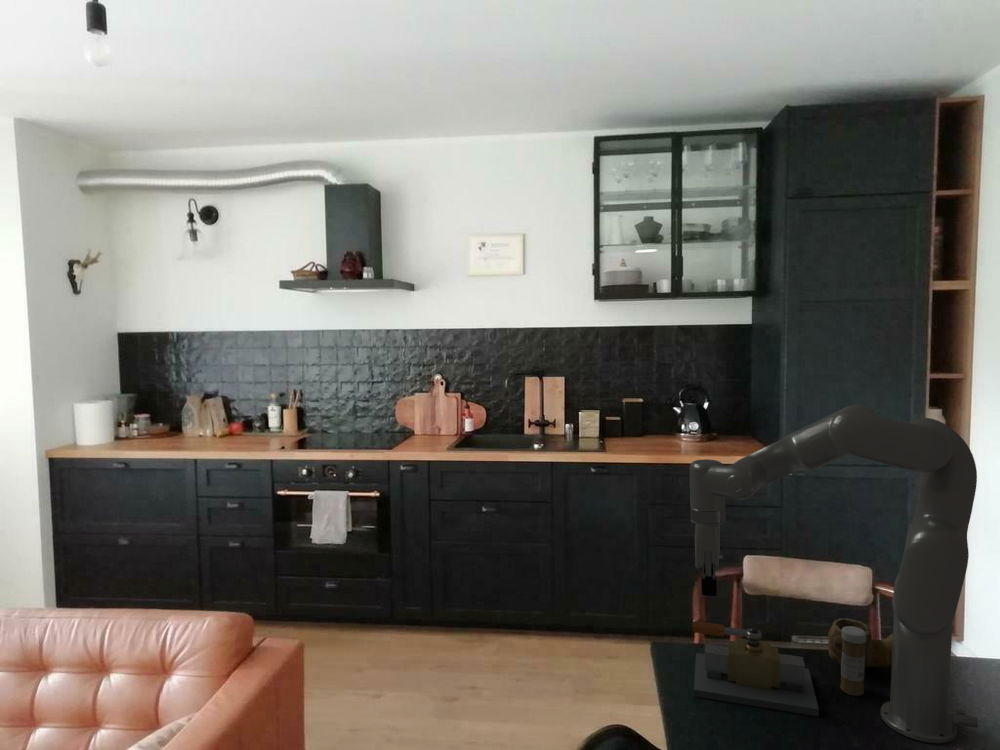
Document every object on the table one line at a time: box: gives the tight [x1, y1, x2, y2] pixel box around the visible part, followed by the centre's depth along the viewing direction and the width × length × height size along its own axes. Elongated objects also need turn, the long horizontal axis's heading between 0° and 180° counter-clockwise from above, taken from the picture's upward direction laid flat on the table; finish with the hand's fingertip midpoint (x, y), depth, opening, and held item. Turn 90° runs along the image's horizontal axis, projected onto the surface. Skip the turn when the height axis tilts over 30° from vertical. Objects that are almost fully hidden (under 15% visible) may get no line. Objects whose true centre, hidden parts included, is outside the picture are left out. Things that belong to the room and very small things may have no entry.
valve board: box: [693, 652, 820, 717], centre depth 143 cm, size 24×16×2 cm, turn 72°
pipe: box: [827, 617, 893, 669], centre depth 149 cm, size 9×16×10 cm, turn 81°
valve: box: [704, 637, 806, 692], centre depth 143 cm, size 20×7×9 cm, turn 72°
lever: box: [692, 620, 763, 641], centre depth 144 cm, size 14×3×2 cm, turn 73°
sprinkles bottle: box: [839, 626, 866, 697], centre depth 140 cm, size 5×5×13 cm
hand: (709, 594), depth 150 cm, fingers closed
